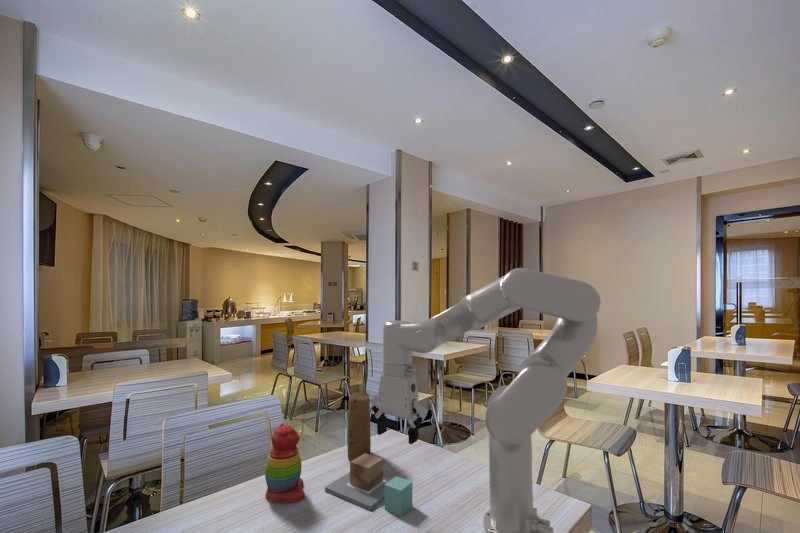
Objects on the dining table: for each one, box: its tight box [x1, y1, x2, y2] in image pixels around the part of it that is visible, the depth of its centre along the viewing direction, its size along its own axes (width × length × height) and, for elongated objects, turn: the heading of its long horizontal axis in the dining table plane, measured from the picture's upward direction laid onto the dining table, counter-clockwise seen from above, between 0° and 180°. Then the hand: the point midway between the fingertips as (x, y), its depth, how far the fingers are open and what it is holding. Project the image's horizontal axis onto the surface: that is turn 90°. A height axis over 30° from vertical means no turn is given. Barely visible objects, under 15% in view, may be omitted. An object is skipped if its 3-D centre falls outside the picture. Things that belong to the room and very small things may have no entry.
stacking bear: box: [264, 422, 306, 504], centre depth 101 cm, size 11×10×18 cm
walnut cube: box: [349, 453, 384, 491], centre depth 103 cm, size 6×6×6 cm
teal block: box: [384, 475, 413, 517], centre depth 94 cm, size 5×5×6 cm
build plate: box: [324, 470, 407, 511], centre depth 103 cm, size 16×16×1 cm
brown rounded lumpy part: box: [346, 391, 372, 462], centre depth 122 cm, size 11×8×20 cm
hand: (397, 437), depth 94 cm, fingers open, 9 cm apart
